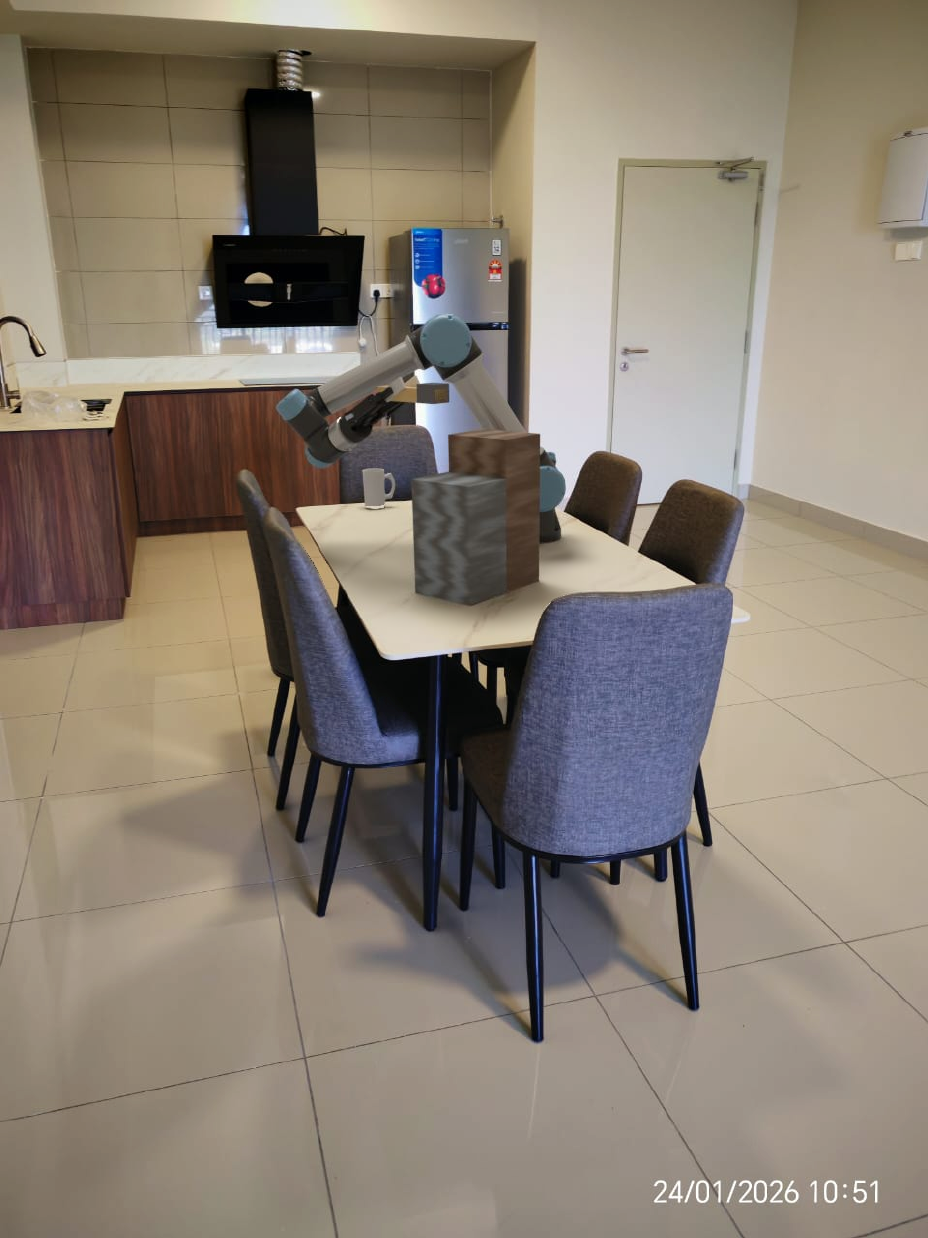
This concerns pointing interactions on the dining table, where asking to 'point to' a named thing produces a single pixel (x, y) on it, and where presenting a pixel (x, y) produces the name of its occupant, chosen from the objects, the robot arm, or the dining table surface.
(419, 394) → the block
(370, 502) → the mug
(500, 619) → the dining table surface
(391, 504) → the dining table surface
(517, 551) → the stand
